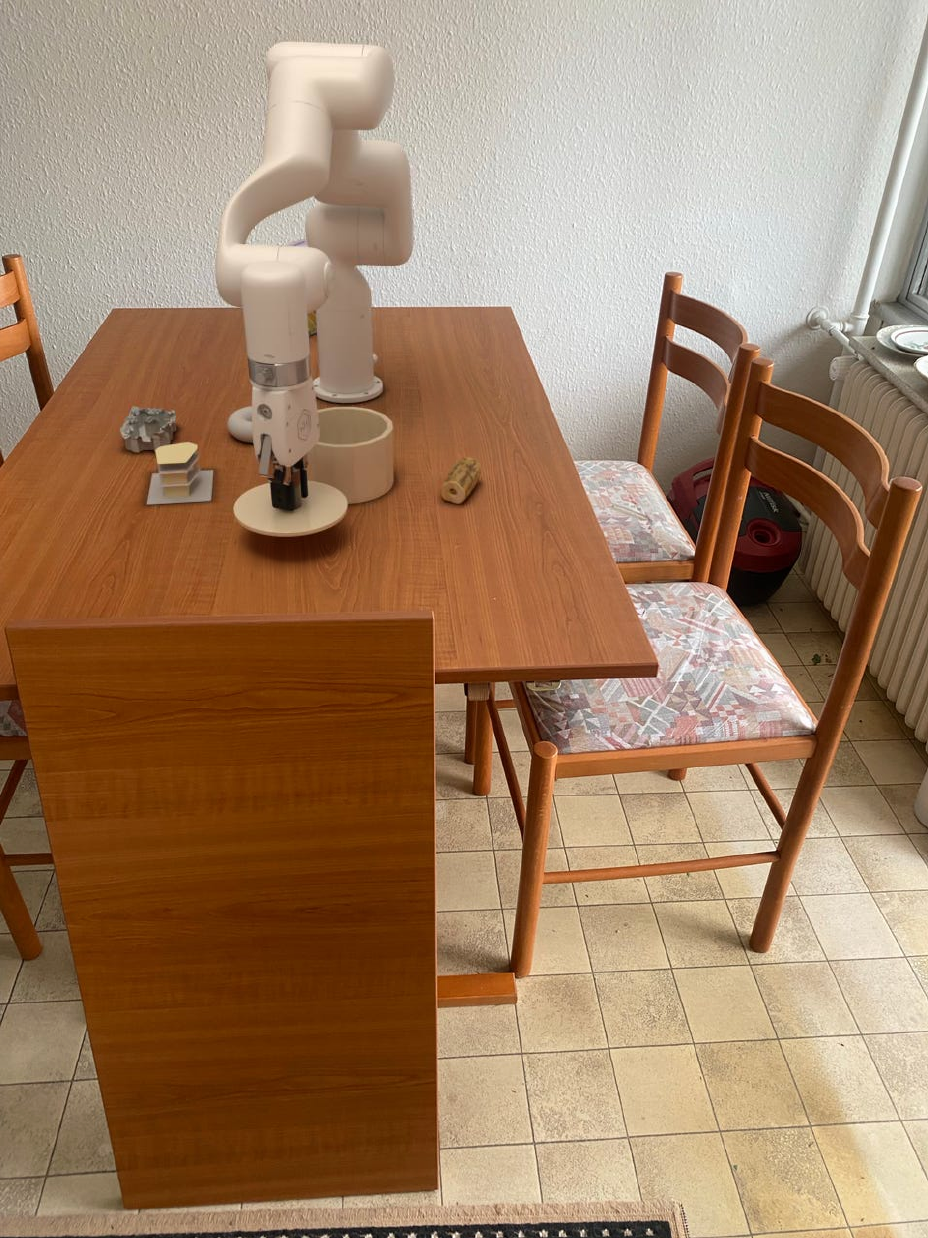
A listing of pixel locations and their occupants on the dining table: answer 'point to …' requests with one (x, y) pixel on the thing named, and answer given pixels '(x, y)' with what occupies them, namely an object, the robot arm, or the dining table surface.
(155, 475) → the stacked layers on plate
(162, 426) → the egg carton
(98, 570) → the dining table surface
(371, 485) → the crock
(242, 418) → the donut
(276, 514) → the lid
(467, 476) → the tan cylinder with hole
